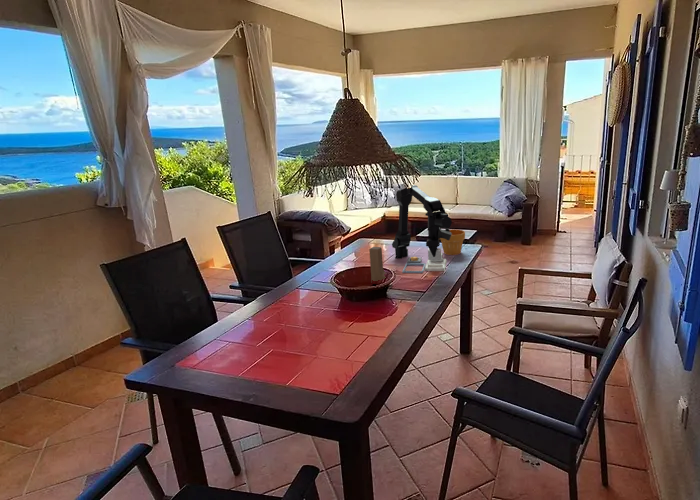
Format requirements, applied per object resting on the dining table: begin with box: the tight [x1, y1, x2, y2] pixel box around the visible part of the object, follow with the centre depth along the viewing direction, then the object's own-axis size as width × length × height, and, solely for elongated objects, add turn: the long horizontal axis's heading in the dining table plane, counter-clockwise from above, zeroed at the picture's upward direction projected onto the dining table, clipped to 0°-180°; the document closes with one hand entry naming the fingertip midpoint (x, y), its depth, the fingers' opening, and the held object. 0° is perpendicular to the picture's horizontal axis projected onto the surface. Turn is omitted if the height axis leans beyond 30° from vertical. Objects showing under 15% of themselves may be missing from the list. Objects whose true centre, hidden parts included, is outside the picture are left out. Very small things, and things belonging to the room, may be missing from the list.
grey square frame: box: [406, 257, 423, 263], centre depth 231 cm, size 7×7×2 cm
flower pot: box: [440, 228, 466, 256], centre depth 241 cm, size 14×14×13 cm
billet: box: [427, 247, 442, 261], centre depth 216 cm, size 6×4×5 cm, turn 74°
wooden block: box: [369, 246, 386, 281], centre depth 202 cm, size 9×4×18 cm, turn 59°
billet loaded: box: [431, 252, 444, 262], centre depth 226 cm, size 6×4×5 cm, turn 74°
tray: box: [402, 262, 427, 274], centre depth 220 cm, size 10×13×2 cm
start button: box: [410, 256, 419, 261], centre depth 231 cm, size 4×4×3 cm
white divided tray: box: [424, 258, 448, 272], centre depth 222 cm, size 10×17×2 cm, turn 164°
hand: (434, 255), depth 216 cm, fingers closed on billet, 4 cm apart
